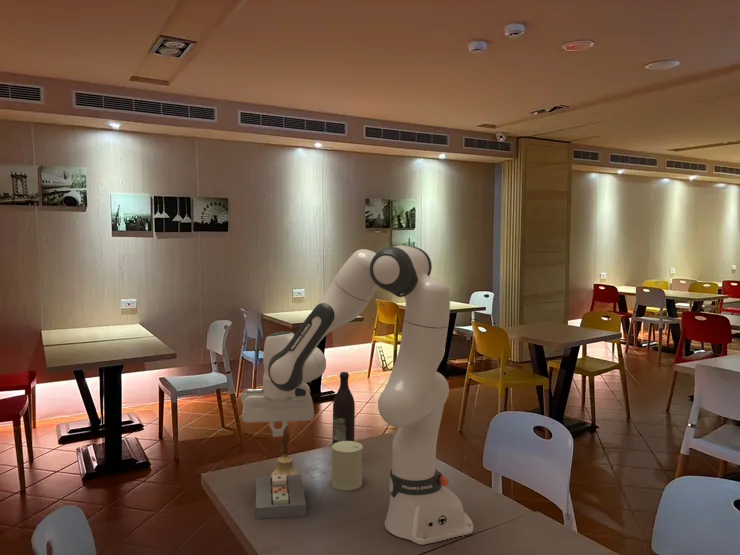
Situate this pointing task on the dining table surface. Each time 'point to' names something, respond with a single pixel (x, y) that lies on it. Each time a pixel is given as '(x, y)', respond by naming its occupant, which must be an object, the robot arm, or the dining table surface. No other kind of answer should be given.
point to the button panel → (291, 509)
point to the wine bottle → (343, 412)
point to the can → (347, 465)
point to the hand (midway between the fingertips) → (277, 435)
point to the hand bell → (285, 458)
